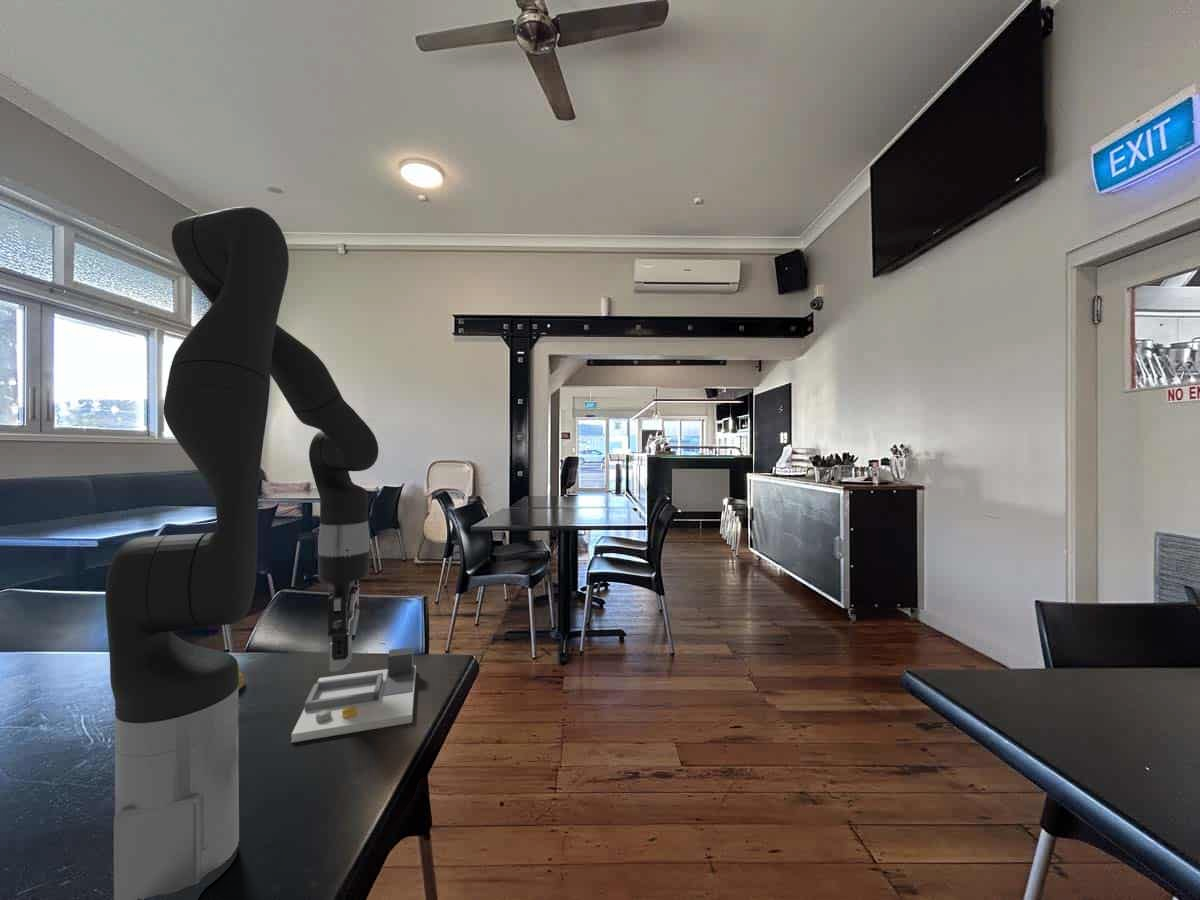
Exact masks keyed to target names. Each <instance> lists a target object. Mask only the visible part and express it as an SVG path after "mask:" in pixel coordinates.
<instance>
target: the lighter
mask: <svg viewBox="0 0 1200 900" xmlns="http://www.w3.org/2000/svg"><path fill="white" fill-rule="evenodd" d="M347 614H348V613H347ZM359 615H360V609H359V608H358V609H357V608H354V618H353V619H352V620H351V621H350V625H349V629H350V633H349V654H348V657H347V658H346V659H341V660H333V659H332V641H331V642H330V643H329V671H330V672H341V671H342V670H343V669H344V668H345V667H346V666H347V665H349V663H351V662H352V660H353V658H352V657H353V655H352V654H353V652H352V649H353V647H352V645H353V643H352V642H353V640H352V635H355V636H356V632H357V628H358V621H359Z"/></svg>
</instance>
